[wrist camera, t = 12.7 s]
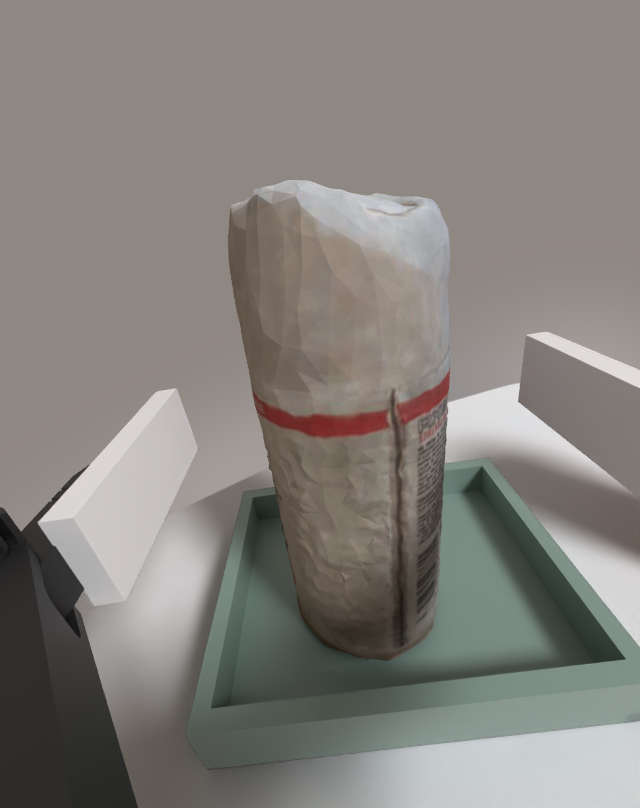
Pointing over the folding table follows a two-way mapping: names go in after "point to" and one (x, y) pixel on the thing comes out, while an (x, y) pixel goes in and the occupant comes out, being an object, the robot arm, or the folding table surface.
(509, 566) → the tray
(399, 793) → the folding table surface
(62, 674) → the robot arm
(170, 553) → the folding table surface
